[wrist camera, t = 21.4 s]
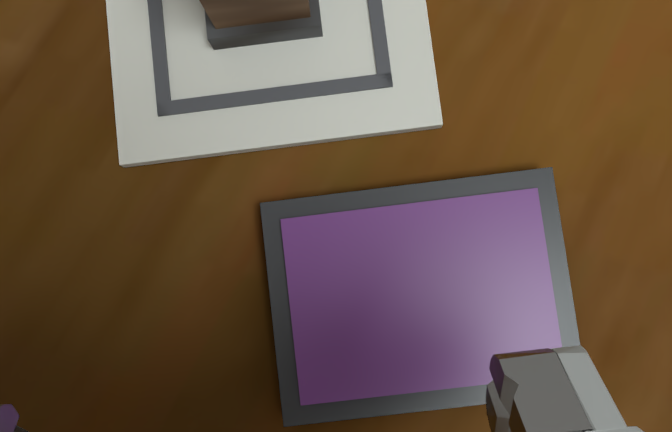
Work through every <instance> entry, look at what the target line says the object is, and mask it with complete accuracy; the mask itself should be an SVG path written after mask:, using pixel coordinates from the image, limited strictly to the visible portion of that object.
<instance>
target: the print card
mask: <svg viewBox="0 0 672 432" xmlns="http://www.w3.org/2000/svg"><path fill="white" fill-rule="evenodd" d="M319 6H320V14H321V23H322V32H323V37H315V38H307V39H299V40H291V41H283V42H275V43H267V44H259V45H251V46H243V47H235V48H227V49H219V50H214V49H213V48H212V46H211V44H210V43H209V41H208V40H207V31H206V20H205V10H204V8H203V6H202V4H201V3H200V1H199V0H106V9H107V21H108V33H109V45H110V58H111V70H112V82H113V94H114V106H115V119H116V131H117V143H118V155H119V165H120V166H122V167H124V168H125V167H133V166H141V165H149V164H157V163H165V162H173V161H181V160H189V159H197V158H205V157H213V156H221V155H229V154H237V153H245V152H253V151H261V150H269V149H277V148H285V147H293V146H301V145H309V144H317V143H325V142H333V141H341V140H349V139H357V138H365V137H373V136H381V135H389V134H397V133H405V132H413V131H421V130H429V129H437V128H441V127H442V125H443V121H442V114H441V107H440V100H439V93H438V86H437V78H436V71H435V64H434V57H433V50H432V43H431V35H430V28H429V21H428V14H427V7H426V0H319Z"/></svg>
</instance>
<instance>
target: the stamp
mask: <svg viewBox="0 0 672 432" xmlns="http://www.w3.org/2000/svg"><path fill="white" fill-rule="evenodd" d="M199 1H200V3H201V4H202V6H203V8H204V10H205V20H206V31H207V40H208V41H209V43H210V44H211V46H212V48H213V49H214V50H219V49H227V48H235V47H243V46H251V45H259V44H267V43H275V42H283V41H291V40H299V39H307V38H315V37H323V32H322V23H321V14H320V6H319V0H199Z"/></svg>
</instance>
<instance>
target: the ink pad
mask: <svg viewBox="0 0 672 432" xmlns="http://www.w3.org/2000/svg"><path fill="white" fill-rule="evenodd" d="M260 208H261V218H262V227H263V236H264V246H265V255H266V265H267V274H268V284H269V293H270V302H271V312H272V321H273V331H274V340H275V350H276V359H277V369H278V378H279V387H280V397H281V406H282V416H283V425H284V427H287V426H296V425H305V424H314V423H323V422H332V421H340V420H349V419H358V418H367V417H376V416H385V415H394V414H402V413H411V412H420V411H429V410H438V409H447V408H456V407H464V406H473V405H482V404H486V389H487V385H488V384H489V383H490V382H491V381H492V380H493V378H492V375H491V373H490V370H489V367H490V360H491V358H492V356H493V354H501V353H510V352H518V351H527V350H536V349H545V348H549V349H552V348H561V347H570V346H580V341H579V334H578V328H577V322H576V315H575V309H574V303H573V296H572V290H571V284H570V277H569V271H568V265H567V258H566V252H565V246H564V239H563V233H562V227H561V220H560V214H559V208H558V201H557V195H556V189H555V182H554V176H553V170H552V167H549V168H541V169H532V170H524V171H516V172H508V173H500V174H492V175H484V176H476V177H467V178H459V179H451V180H443V181H435V182H427V183H419V184H410V185H402V186H394V187H386V188H378V189H370V190H362V191H353V192H345V193H337V194H329V195H321V196H313V197H305V198H296V199H288V200H280V201H272V202H264V203H260Z"/></svg>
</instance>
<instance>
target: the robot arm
mask: <svg viewBox="0 0 672 432" xmlns="http://www.w3.org/2000/svg"><path fill="white" fill-rule="evenodd" d="M489 370H490V373H491V375H492V378H493V380H492V381H491V382H490V383H489V384H488V385H487V389H486V409H487V416H488V421H489V425H490V429H491V432H644V431H643V430H641V429H640V428H638V427H637V426H631V427H627V425H626V423H625V421H624V419H623V418H622V416H621V414H620V412H619V410H618V408H617V406H616V405H615V403H614V401H613V399H612V397H611V395H610V394H609V392H608V390H607V388H606V386H605V384H604V382H603V381H602V379H601V377H600V375H599V373H598V371H597V369H596V368H595V366H594V364H593V362H592V360H591V358H590V356H589V355H588V353H587V351H586V350H585V349H584V348H583V347H582V346H570V347H561V348H552V349H549V348H545V349H536V350H527V351H518V352H510V353H501V354H493V356H492V358H491V360H490V367H489ZM18 419H19V414H18V413H17V411H16V410H15V408H14V407H13V406H12V404H4V405H0V432H28V431H26V430H24V429H22V428H20V427H19V426H17V425H16V424H17V421H18Z"/></svg>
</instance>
